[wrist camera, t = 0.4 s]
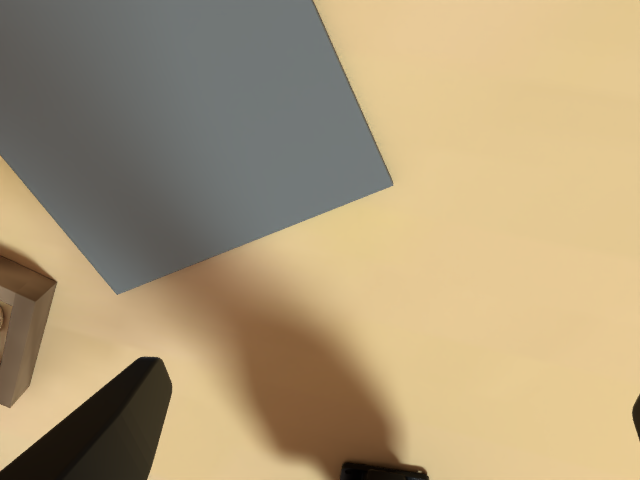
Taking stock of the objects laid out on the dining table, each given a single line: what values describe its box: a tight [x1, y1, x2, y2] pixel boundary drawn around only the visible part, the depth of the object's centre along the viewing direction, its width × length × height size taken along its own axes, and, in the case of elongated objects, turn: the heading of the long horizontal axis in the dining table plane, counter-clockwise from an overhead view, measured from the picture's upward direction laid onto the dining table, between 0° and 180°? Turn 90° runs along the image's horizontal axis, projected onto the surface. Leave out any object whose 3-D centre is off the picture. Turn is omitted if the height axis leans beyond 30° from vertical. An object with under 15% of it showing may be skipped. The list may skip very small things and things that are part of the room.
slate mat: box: [0, 0, 393, 295], centre depth 21 cm, size 18×18×1 cm
